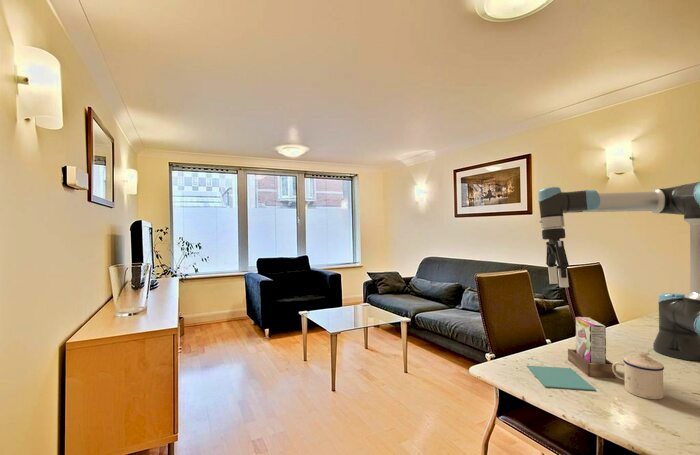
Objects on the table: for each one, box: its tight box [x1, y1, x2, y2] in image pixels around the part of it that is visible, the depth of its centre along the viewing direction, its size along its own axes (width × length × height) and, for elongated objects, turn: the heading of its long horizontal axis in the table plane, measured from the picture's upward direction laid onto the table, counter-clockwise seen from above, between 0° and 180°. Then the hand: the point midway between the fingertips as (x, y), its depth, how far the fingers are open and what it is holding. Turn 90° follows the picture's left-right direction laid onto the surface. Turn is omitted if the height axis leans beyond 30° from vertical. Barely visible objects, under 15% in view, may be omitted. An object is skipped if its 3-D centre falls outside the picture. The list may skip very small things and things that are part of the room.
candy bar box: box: [575, 316, 607, 364], centre depth 118 cm, size 11×5×16 cm, turn 168°
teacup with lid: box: [612, 351, 665, 400], centre depth 102 cm, size 12×9×12 cm
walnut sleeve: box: [567, 348, 617, 379], centre depth 118 cm, size 8×14×4 cm, turn 170°
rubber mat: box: [526, 365, 597, 392], centre depth 111 cm, size 14×16×1 cm
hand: (558, 285), depth 128 cm, fingers open, 13 cm apart
